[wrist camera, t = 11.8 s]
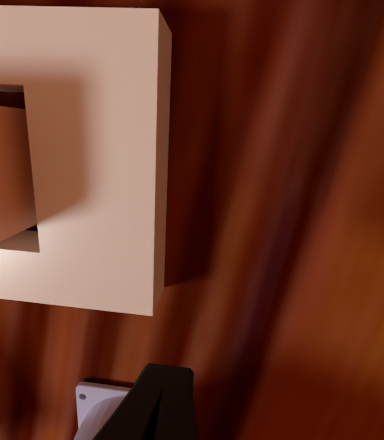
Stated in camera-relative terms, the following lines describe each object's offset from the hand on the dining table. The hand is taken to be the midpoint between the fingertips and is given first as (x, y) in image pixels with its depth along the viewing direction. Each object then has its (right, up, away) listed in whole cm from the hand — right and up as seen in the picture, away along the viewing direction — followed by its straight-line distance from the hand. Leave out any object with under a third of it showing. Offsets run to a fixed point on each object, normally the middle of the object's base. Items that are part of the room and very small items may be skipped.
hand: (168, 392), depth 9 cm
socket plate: (-10, +8, +8) cm, 15 cm away
